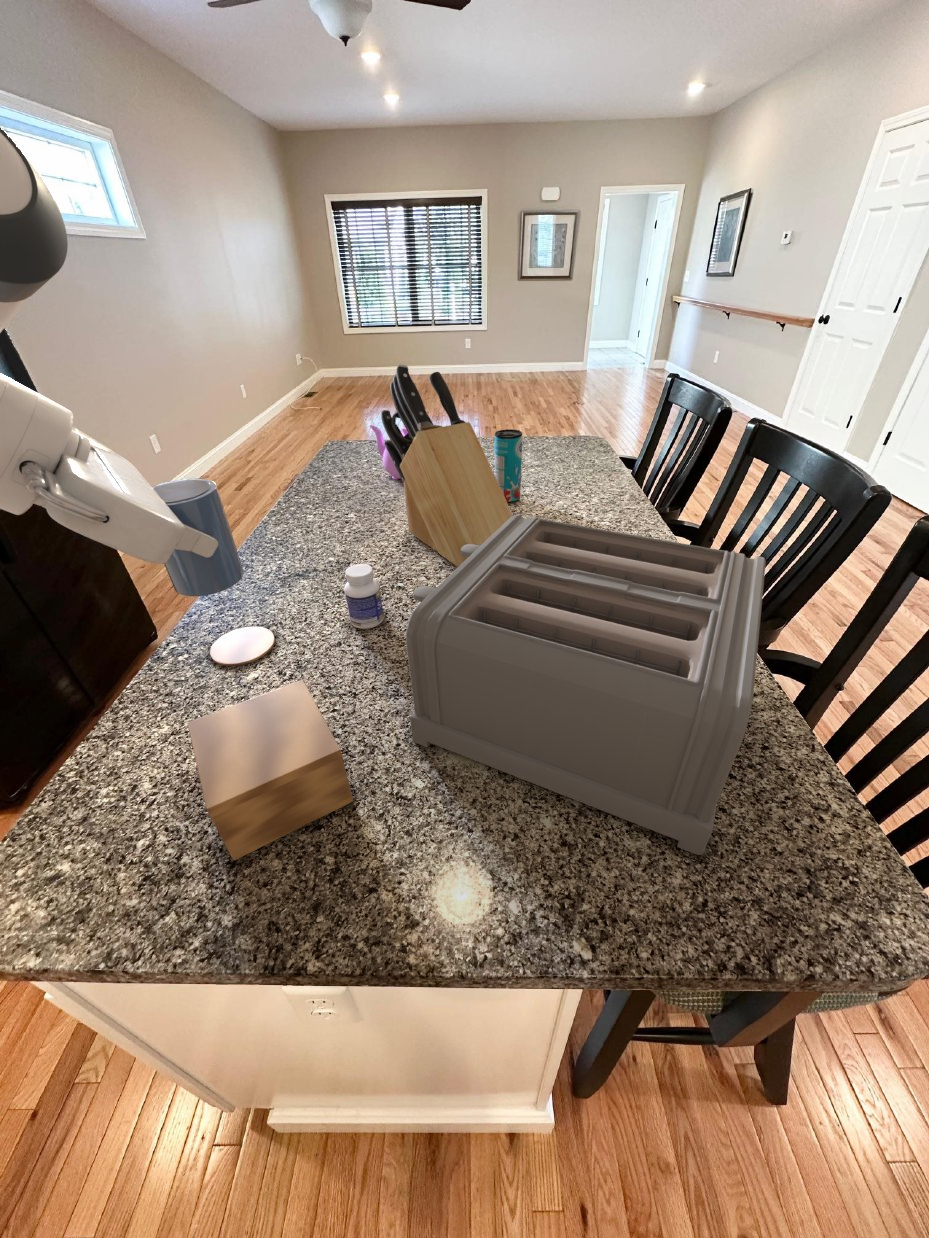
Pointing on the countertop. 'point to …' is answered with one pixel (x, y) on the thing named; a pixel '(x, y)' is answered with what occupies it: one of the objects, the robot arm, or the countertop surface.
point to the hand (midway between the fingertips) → (200, 533)
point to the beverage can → (508, 463)
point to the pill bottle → (363, 597)
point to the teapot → (385, 454)
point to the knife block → (442, 472)
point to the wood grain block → (268, 767)
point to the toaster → (593, 667)
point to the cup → (204, 511)
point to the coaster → (242, 646)
